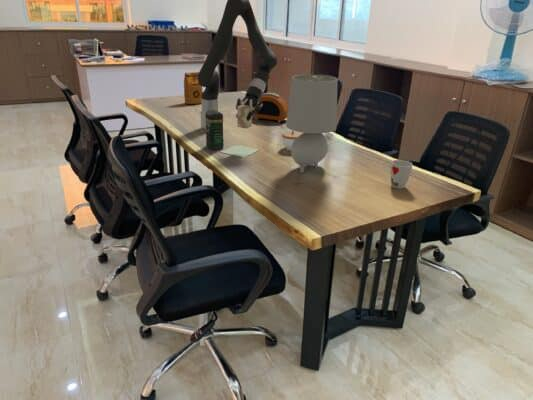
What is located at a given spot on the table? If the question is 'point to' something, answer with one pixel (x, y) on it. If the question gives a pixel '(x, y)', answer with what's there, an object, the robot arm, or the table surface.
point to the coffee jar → (214, 129)
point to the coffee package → (192, 88)
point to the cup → (400, 173)
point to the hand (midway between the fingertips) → (242, 119)
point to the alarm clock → (272, 107)
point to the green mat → (239, 151)
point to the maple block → (243, 116)
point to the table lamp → (311, 116)
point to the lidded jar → (289, 138)
